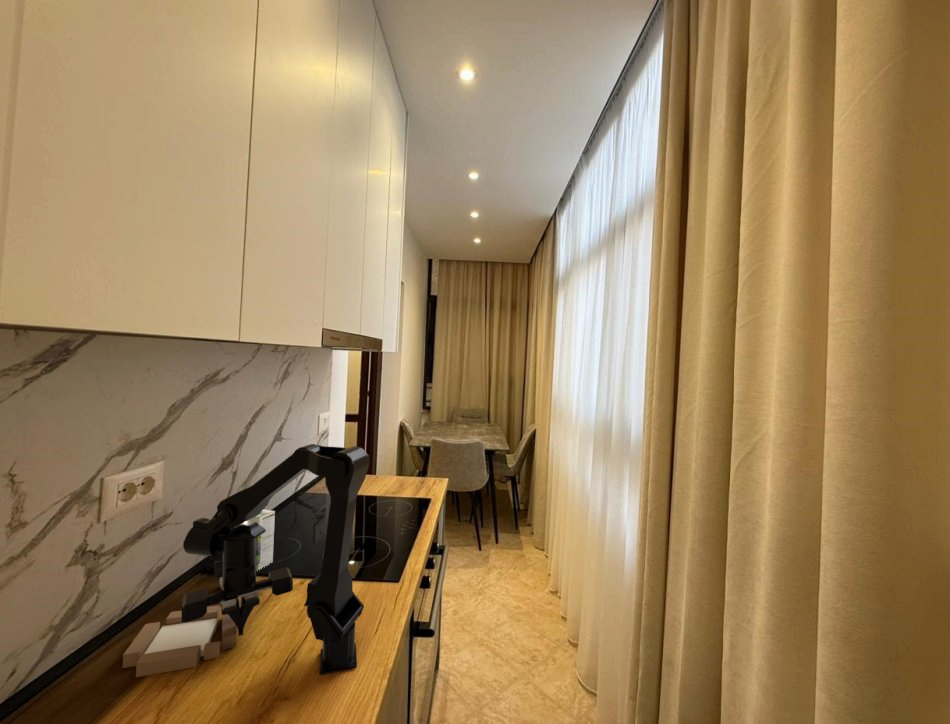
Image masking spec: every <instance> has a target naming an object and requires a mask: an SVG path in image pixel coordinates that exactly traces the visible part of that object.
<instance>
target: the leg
mask: <svg viewBox="0 0 950 724" xmlns="http://www.w3.org/2000/svg"><path fill="white" fill-rule="evenodd" d="M221 616H222V618H221V651H224V650H228V649H231V648H235V647H237V637H238V636H237V633H238V629H237V626H236V624H235V623H234V621H233V620H232V619H231V618H230V616H229V615H228V614H226V615H222V614H221Z"/></svg>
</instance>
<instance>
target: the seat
mask: <svg viewBox="0 0 950 724" xmlns="http://www.w3.org/2000/svg"><path fill="white" fill-rule="evenodd" d="M220 611H221V604H219V605H210V606H207V613H206V614H205V615H204V616H203V617H202V618H199V619H195V620H192V621H188V622H182V615H181V612H182V610H177V611H171V612H170V613H169V614H168V616H167V617H166V623H165V625H162V626H161V622H160V621H157V622H151V623H145V625H143V627H142V628H141V629H140V631H139V632H138V634H137V635H136V636H135V638H134V639H133V640H132V642H131V643H130V644H129V646H128V647H127V649H126V650H125V652H124V653H123V654H122V655H123V656H122V669H125V668H131V667H135V669H136V670H135V678H140V677H145V676H146V677H147V676H152V675H158V674H163V673H168V672H175V671H179V670H184V669H185V670H186V669H190V668H197V666H198V663H199V661H200V659H201V657H203V661H207V660H212V659H213V660H214V659H218V658H219V657H220V655H221V644H222V640H221V641H220V640H219V641H214V642H211V641H212V639H213V637H214V635H215V633H216V630H217V628H218V626H219V623H220V615H221V614H220V613H221V612H220Z"/></svg>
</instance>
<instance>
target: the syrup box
mask: <svg viewBox="0 0 950 724" xmlns="http://www.w3.org/2000/svg"><path fill="white" fill-rule="evenodd" d="M275 514H276V511H275V510H269V509H265V508H264V509H263V510H262V511H261V513H260V514H259V515H258V516H256V517H254V518H252V519H250V521H251V524H253V523H255V522H257V523H258V524H259V525H260V526H262V527H263V528H264V529H265V530H266V531H265V532H264V533H263V534H261V535H260V536H258V537H256V571H257V572H259V571H261V570H262V568H263V567H264V568H266V567H267V566H269V565H271V564H272V563H273V562H274V538H275V536H274V535H275V517H276V515H275ZM270 563H271V564H270ZM265 566H266V567H265ZM264 568H263V569H264ZM260 569H261V570H260ZM258 570H259V571H258Z"/></svg>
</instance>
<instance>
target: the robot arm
mask: <svg viewBox="0 0 950 724" xmlns="http://www.w3.org/2000/svg"><path fill="white" fill-rule="evenodd" d="M369 467H370V455H369V454H368V453H367V452H366V450H364V449H363V448H362V447H359V446H355V445H354V446H350V447H348V448H347V447H341V446H325V445H319V444H315V443H310V444H306V445H304V446H300V447H299V448H297V449H295V450H294V452H293V453H291V455H289V456H288V457H287V458H285V459H284V460H283V461H282V462H280V463H279V464H278V465H277V466H276V467H274V468H273V469H271V470H270V471H269V472H268V473H266V474H265V475H264V476H263V477H261V478H259V479H258V480H257V481H256V482H255V483H253V485H251V486H249V487H246V488H244V489H242V490H241V491H238V492H236V493H234V494H232V495H230V496H228V497H225V498H224V499H221V500H220V502H218V504H217V505H216V509H217V510H216V512H215V514H214V515H213V517H212V518H211V519H209V518H207V517H200V518H198V519H195V520H193V522H192V527H191V528H190V529H189V531H188V532H187V534H186V535H185V539H184V540H183V544H182V545H183V550H184V552H185V553H187V554H190V555H195V556H196V555H197V556H205V557H206V556H208V557H218V556H220V555H221V554H222V559H221V560H217V561H214V562H213V563H214V565H213V567H214V579H215V580H217V579H220V578H221V577H223V590H220V591H218V592H214V593H210V594H209V593H208V590H209V589H208V587H205V588H201V589H198V590H194V591H191V592H187V593H185V594H184V596H183V597H182V602H181V611H182V612H181V615H182V622H188V621H192V620H195V619H199V618H202V617H203V616H204V615H205V614H206V613H207V607H211V606H214V605H217V604H220V611H221V612H220V613H221V614H220V615H221V616H222V615H226V614H228V615H229V616H230V618H231V619H232V620H233V621H234V623H235V624H236V629H237V633H238V636H237V637H240V636H243V635H244V628H245V626H246V623H247V621H248V619H249V616H250V614H251V613H252V611H253V609H254V607H256V606H259V604H260V596H259V595H260V592H262V591H267V590H270V589H271V593H272V594H273V595H274V596H280V595H284V594H286V593H287V594H288V593H290V592H292V591H293V590H294V586H293V585H294V582H293V575H292V572H291V570H290V568H288V567H286V566H285V567H283V568H278V569H274V570H270V571H269V572H268V578H265V579H262V580H257V572H256V537H258V536H260V535H261V534H263V533H264V532H265V531H266V530H265V529H264V528H263V527H262V526H260V525H259V524H258V523H257V522H255V523H253V524H251V525H240V524H242V523H244V522H246V521H248V520H250V519H252V518H254V517H256V516H258V515H259V514H260V513H261V511H262V510H263V509H264V510H265V508H266V507H268V505H269V502H270V501H271V499H272V498H273V497H274V496H275V495H276V494H278V492H280V491H281V490H282V489H284V488H286V487H287V486H288V485H289V484H291V483H292V482H293V481H294V480H296V479H297V478H298V477H300V476H301V475H303V473H305V472H307V471H308V472H310V473H312V474H313V475H315V476H317V477H324V478H325V479H324V480H325V481H324V483H325V487H326V489H327V491H328V494H329V498H330V500H329V508H328V516H327V523H326V530H325V539H324V545H323V546H324V547H323V554H322V555H323V556H322V561H321V562H322V563H321V570H320V571H321V572H319V573H318V574H317V575H316V576H315V577H314V578H312V580H311V581H309V583H307V587H306V600H305V602H304V604H303V607H306V616H307V617H308V619H309V620H310V623H311V627H312V630H313V633H314V637H315V640H318V641H322V648H321V649H320V656H319V669H318V670H319V671H318V672H319V673H318V674H319V675H321V676H322V675H327V674H331V673H336V672H341V671H346V670H350V669H355V668H357V667H358V660H357V659H358V657H357V643H356V642H355V639H356V623H355V622H356V621H357V620H358V619H359V617H361V615H362V613H363V611H364V608H365V606H364V604H363V603H362V601H361V600H360V598H359V597H358V596H357V594H356V593H354V592H355V591H353V578H352V575H351V572H350V571H349V568H348V567H349V559H350V552H351V545H352V538H353V536H352V535H353V534H352V533H353V529H354V519H355V512H356V504H357V499H358V498H357V496H358V494H359V492H360V491H361V488H362V486H363V484H364V482H365V480H366V478H367V474H368V470H369ZM234 527H235V528H234ZM239 599H240V600H239Z"/></svg>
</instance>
